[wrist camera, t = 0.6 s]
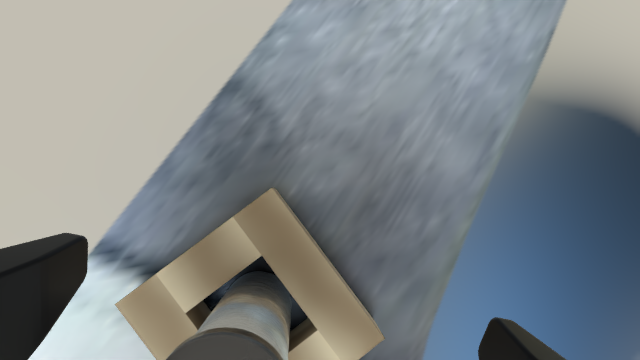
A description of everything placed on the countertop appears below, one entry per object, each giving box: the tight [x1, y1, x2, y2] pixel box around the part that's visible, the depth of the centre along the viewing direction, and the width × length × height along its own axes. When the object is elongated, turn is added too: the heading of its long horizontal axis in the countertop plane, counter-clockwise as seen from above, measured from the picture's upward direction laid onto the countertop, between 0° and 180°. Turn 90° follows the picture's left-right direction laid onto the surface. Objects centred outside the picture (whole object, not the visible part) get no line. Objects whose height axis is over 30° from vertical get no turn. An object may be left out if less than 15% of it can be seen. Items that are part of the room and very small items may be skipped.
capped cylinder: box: [166, 271, 292, 360], centre depth 20 cm, size 5×5×13 cm
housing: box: [115, 188, 385, 360], centre depth 25 cm, size 11×11×4 cm
